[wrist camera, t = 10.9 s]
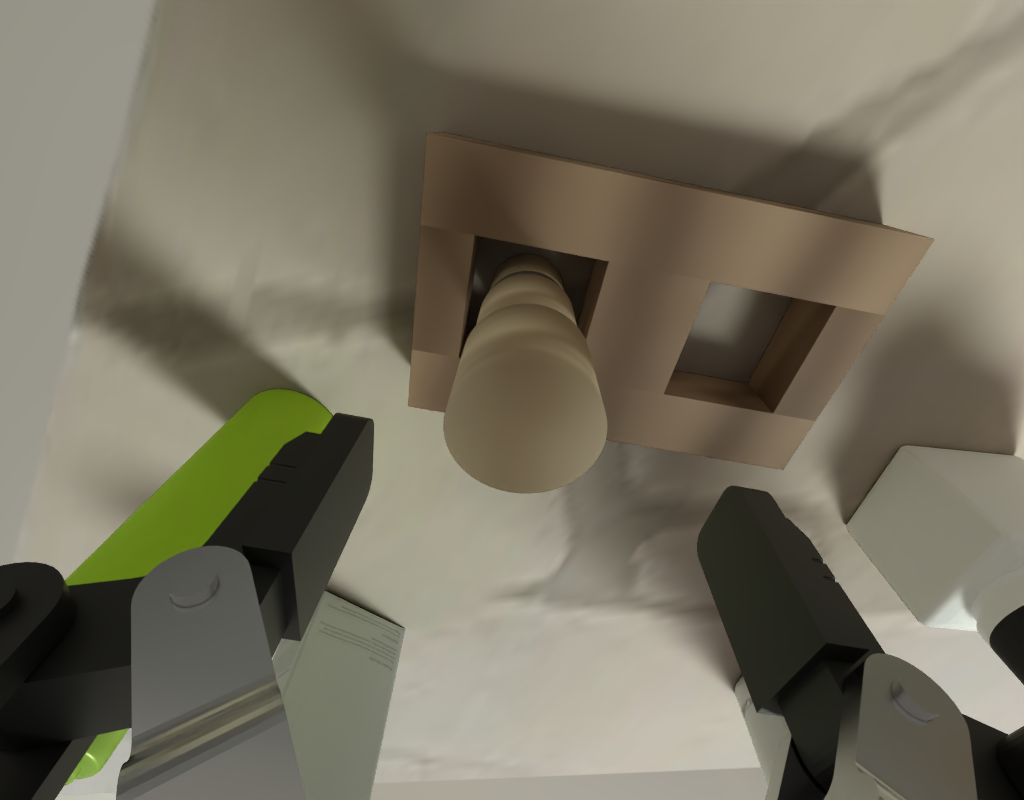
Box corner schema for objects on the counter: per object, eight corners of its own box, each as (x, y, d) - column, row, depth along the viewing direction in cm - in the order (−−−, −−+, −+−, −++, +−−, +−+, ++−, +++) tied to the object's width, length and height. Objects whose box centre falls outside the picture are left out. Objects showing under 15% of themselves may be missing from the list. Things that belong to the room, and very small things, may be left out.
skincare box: (291, 616, 38) (170, 864, 25) (327, 584, 35) (213, 842, 23) (374, 656, 40) (303, 897, 28) (413, 629, 38) (355, 880, 25)
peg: (581, 255, 21) (629, 376, 11) (559, 338, 24) (583, 503, 13) (489, 237, 21) (452, 345, 11) (477, 323, 23) (436, 480, 13)
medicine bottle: (841, 526, 30) (1001, 734, 20) (899, 442, 26) (1135, 644, 16) (945, 536, 30) (1158, 748, 20) (1018, 453, 26) (1327, 662, 16)
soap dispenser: (373, 451, 28) (128, 959, 11) (279, 475, 29) (-68, 961, 12) (324, 372, 25) (-112, 892, 8) (223, 403, 26) (-332, 905, 9)
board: (883, 224, 20) (938, 240, 17) (758, 436, 26) (784, 472, 24) (440, 132, 19) (425, 132, 16) (420, 377, 25) (406, 408, 22)
